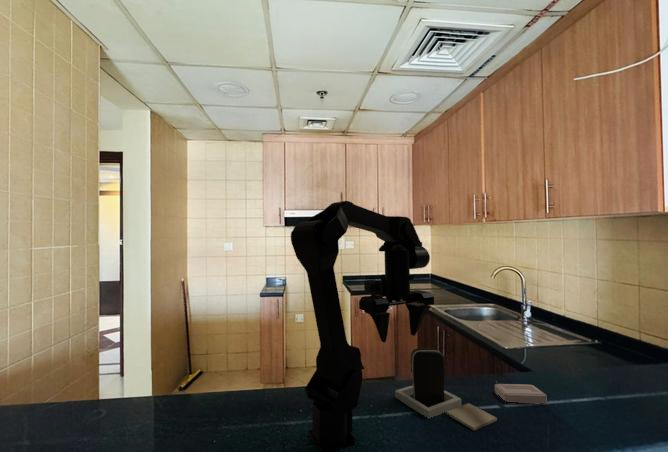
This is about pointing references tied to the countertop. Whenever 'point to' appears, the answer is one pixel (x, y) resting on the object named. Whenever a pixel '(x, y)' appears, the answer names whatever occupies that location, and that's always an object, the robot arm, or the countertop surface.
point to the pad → (471, 416)
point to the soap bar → (520, 393)
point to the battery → (427, 376)
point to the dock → (428, 412)
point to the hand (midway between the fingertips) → (398, 338)
